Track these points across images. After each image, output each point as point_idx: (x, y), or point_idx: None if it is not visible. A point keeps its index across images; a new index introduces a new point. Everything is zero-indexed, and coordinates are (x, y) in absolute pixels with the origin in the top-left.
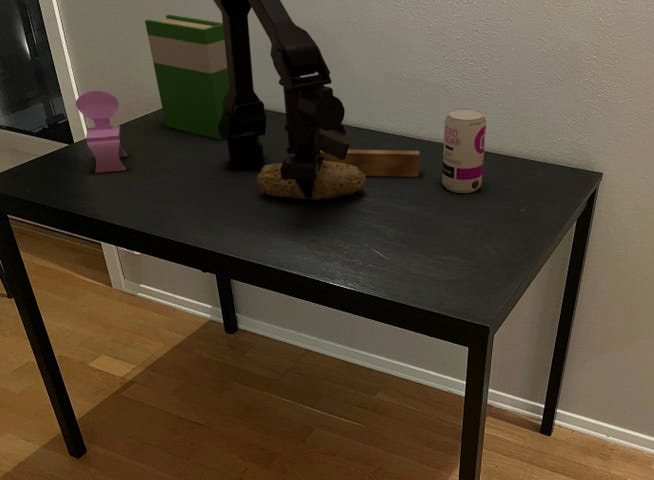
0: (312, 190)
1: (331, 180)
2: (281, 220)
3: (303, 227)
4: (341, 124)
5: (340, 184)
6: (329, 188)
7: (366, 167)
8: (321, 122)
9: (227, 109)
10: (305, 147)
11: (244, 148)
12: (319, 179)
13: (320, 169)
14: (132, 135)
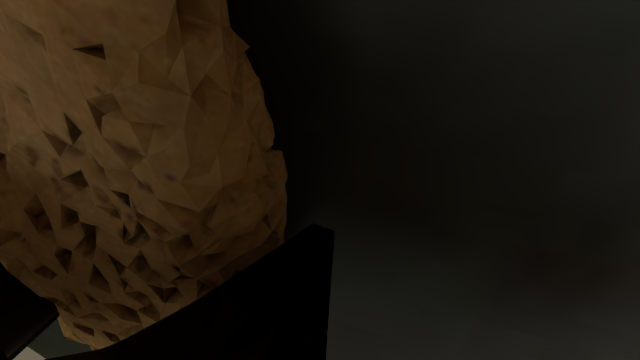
0: (315, 264)
1: (171, 136)
2: (437, 306)
3: (569, 258)
4: None
5: (174, 26)
6: (246, 131)
7: None
8: None
9: None
10: None
11: (20, 321)
12: (182, 225)
13: (42, 198)
14: (54, 356)
